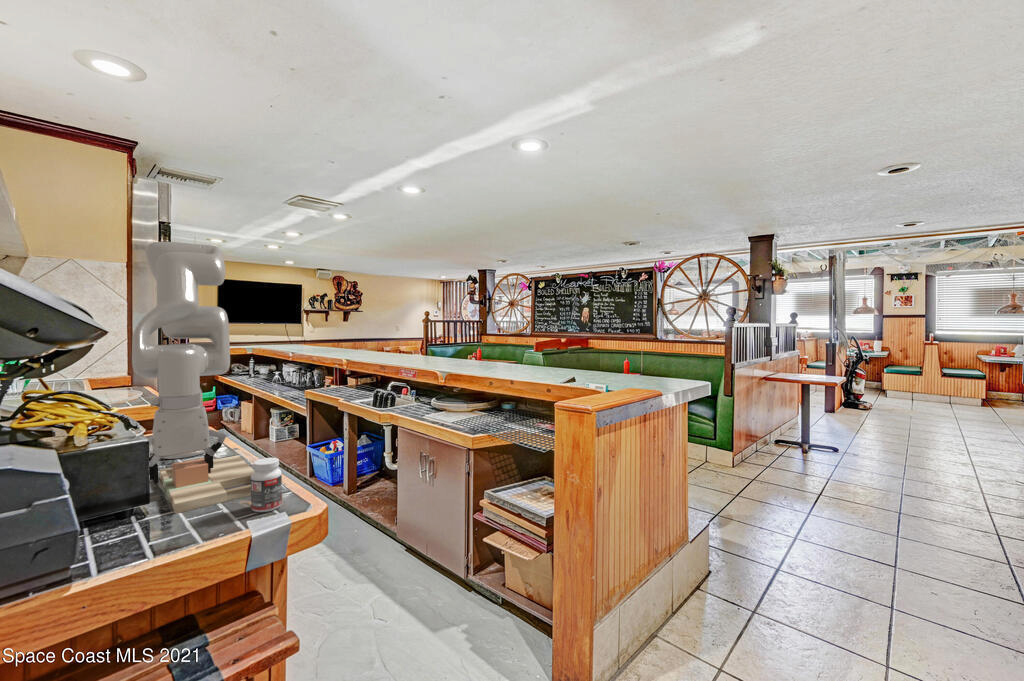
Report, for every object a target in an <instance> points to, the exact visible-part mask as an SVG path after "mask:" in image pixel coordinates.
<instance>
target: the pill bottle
mask: <svg viewBox="0 0 1024 681" xmlns="http://www.w3.org/2000/svg"><path fill="white" fill-rule="evenodd" d="M279 465H280V460H279V458H277V457H265V458H260V459H256V460H255V461H253V470H254V471H255V472H253V473H252V475H251V496H250V506H251V507H250V508H251V510H252V511H253V512H255V513H269V512H271V511H275V510H277V509H279V508H280V507H281V506H282V503H283V488H282V486H283V484H282V483H283V480H282V479H283V478H282V477H283V476H282V470H281V469H280V468H279Z"/></svg>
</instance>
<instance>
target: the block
mask: <svg viewBox="0 0 1024 681" xmlns="http://www.w3.org/2000/svg"><path fill="white" fill-rule="evenodd" d="M171 467H172V481H173V483H174V485H175V487H176V488H180V487H185V486H189V485H194V484H199V483H204V482H208V464H207V463H206V462H205V460H204V457H203V458H196V459H191V460H186V461H180V462H175V463H171Z"/></svg>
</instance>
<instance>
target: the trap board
mask: <svg viewBox="0 0 1024 681" xmlns="http://www.w3.org/2000/svg"><path fill="white" fill-rule="evenodd" d="M253 472H255V470H254V468H252V466H250V465H249V464H248V463H247V461H245V460H244V459H243V458H242V457H241V456H240V455H239V454H237V455H234V456H228V457H220V458H216V459H213V468H211V473H208V482H204V483H199V484H194V485H189V486H185V487H180V488H176V487H175V485H174V483H173V481H172V466H171V467H166V468H161V469H158V473H159V479H160V481H162V482H161V484H162V483H163V484H162V486H163V488H165V489H164V491H165V490H166V491H165V493H166V496H167V495H168V496H167V498H168V500H169V502H170V505H171V507H172V509H173V511H174V514H180V513H183V512H184V513H185V512H187V511H192V510H196V509H200V508H201V509H202V508H205V507H208V506H213V505H218V504H221V503H226V502H230V501H234V500H238V498H239V499H243V498H247V497H249V496H250V497H251V475H252V473H253ZM242 497H243V498H242Z"/></svg>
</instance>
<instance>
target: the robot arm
mask: <svg viewBox="0 0 1024 681" xmlns="http://www.w3.org/2000/svg"><path fill="white" fill-rule="evenodd" d="M145 259H146V262H147V265H148V267H149V269H150V272H151V274H152V276H153V277H154V279H155V281H156V306H155V307H154V308H152V309H151V310H150V311H149V312H147V313H146V314H145V315H144V316H143V317H142V318H141V319H140V320H139V322H138V323H137V325H136V326H135V329H134V331H133V334H132V341H131V343H132V344H131V345H132V346H131V347H132V348H131V351H132V352H131V365H132V370H133V372H134V373H135V374H136V376H138V377H141V378H144V379H154V378H157V388H158V396H157V397H156V398H155V399H150V407H157V408H158V409H156V410H155V413H154V416H153V424H152V435H151V436H150V437H148V438H147V439H148V440H149V446H151V445H152V451H153V452H152V454H151V455H150V456H148V457H149V466H148V476H149V475H150V480H149V481H152V482H153V484H154V485H156V484H158V483H159V481H160V480H159V465H158V463H157V462H158V461H159V460H160V459H163V460H167V459H168V460H174V459H175V460H176V459H184V458H189V457H195V456H199V455H202V454H204V456H203V459H204V460H205V462H206V463H207V464H208V473H211V468H213V460H214V456H215V454H216V453H217V452H218V450H219V449H220V448H222V446H223V444H224V442H225V439H226V438H227V435H226V433H224V432H220V431H217V430H213V429H210V428H209V421H208V415H207V410H206V407H205V406H204V405H203V404H204V403H203V402H204V401H203V390H202V388H201V385H200V384H201V382H200V379H201V378H200V377H204V376H205V377H206V376H219V375H223V374H226V373H227V372H228V371H229V370H230V366H231V350H230V326H229V325H230V324H229V323H230V322H229V318H228V313H227V311H226V310H225V309H224V308H222V307H220V306H214V305H213V306H211V305H210V306H209V305H207V306H206V305H200V302H199V286H210V287H211V286H213V287H217V286H221V285H223V284H224V281H225V278H226V265H225V264H226V263H225V259H224V255H223V251H222V250H221V249H220V247H218V246H217V245H211V244H201V243H187V242H180V241H179V242H178V241H177V242H175V241H155V242H151V243H149V244H147V245H146V248H145ZM160 328H162V332H163V334H164V336H165V337H167V338H170V339H177V340H182V339H183V340H190V339H194V340H195V339H208V340H209V341H211V342H207V343H206V342H204V343H203V342H202V343H197V342H196V343H195V342H193V343H192V342H191V343H171V344H157V345H156V344H155V345H152V344H151V345H149V343H148V342H149V338H150V336H151V335H152V334H153V333H154V332H156V331H157V330H159V329H160ZM210 437H214V438H217V439H216V441H215V442H214V443H213V444H212V445H211V444H210V442H211V441H210ZM149 446H148V447H149Z"/></svg>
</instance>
